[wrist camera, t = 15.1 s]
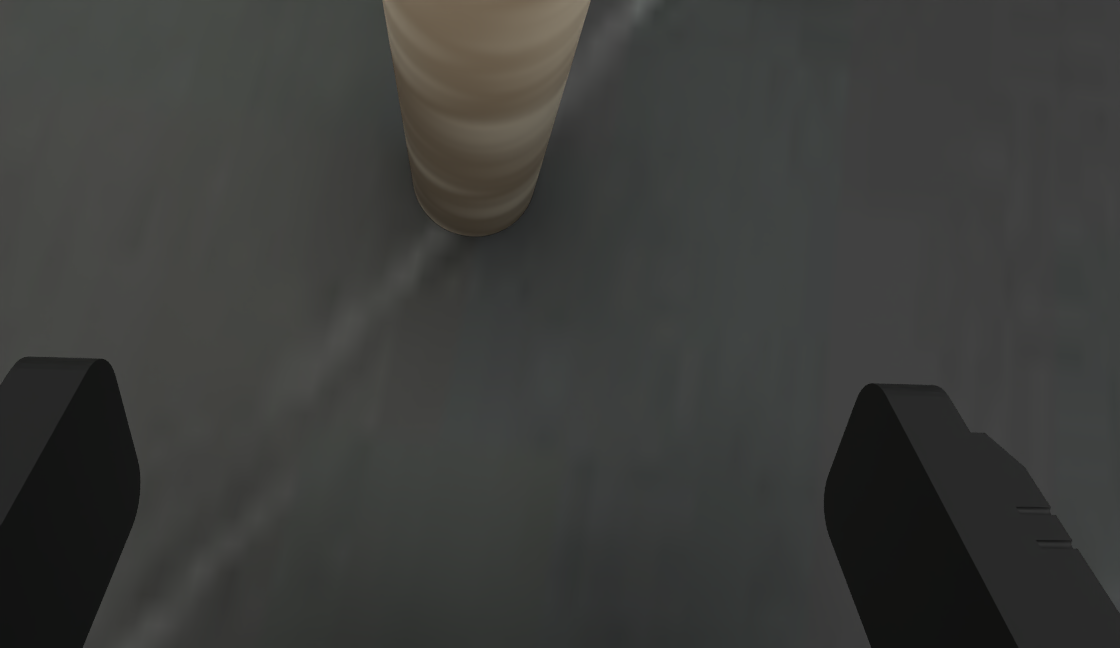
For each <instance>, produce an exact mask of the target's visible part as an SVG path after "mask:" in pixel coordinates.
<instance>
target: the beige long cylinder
mask: <svg viewBox="0 0 1120 648" xmlns="http://www.w3.org/2000/svg"><path fill="white" fill-rule="evenodd" d="M590 1H591V0H383V6H384V12H385V18H386V24H387V30H388V36H389V42H390V48H391V54H392V60H393V66H394V72H395V78H396V84H397V90H398V96H399V102H400V108H401V114H402V120H403V126H404V132H405V138H406V144H407V150H408V156H409V162H410V168H411V174H412V180H413V186H414V191H415V194H416V197H417V200H418V202H419V204H420V205H421V207H422V209H423V210H424V211H425V213H426V214H427V215H428V216H429V217H430V218H431V219H432V220H433V221H434V222H435V223H436V224H438V225H439V226H441V227H442V228H444V229H446V230H448V231H450V232H453V233H456V234H459V235H463V236H472V237H478V236H487V235H491V234H495V233H498V232H500V231H502V230H504V229H506V228H507V227H509V226H511V225H512V224H513V223H514V222H516V221H517V220H518V219H519V218H520V217H521V215H522V214H523V213H524V212H525V210H526V209H527V207H528V205H529V203H530V201H531V198H532V195H533V192H534V189H535V186H536V182H537V179H538V175H539V172H540V169H541V165H542V162H543V159H544V155H545V152H546V149H547V145H548V142H549V138H550V135H551V132H552V128H553V125H554V122H555V118H556V115H557V112H558V108H559V105H560V101H561V98H562V95H563V91H564V88H565V85H566V81H567V78H568V75H569V71H570V68H571V64H572V61H573V58H574V54H575V51H576V48H577V44H578V41H579V38H580V34H581V31H582V27H583V24H584V21H585V17H586V14H587V11H588V7H589V4H590Z"/></svg>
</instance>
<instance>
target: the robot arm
mask: <svg viewBox="0 0 1120 648" xmlns="http://www.w3.org/2000/svg"><path fill="white" fill-rule="evenodd" d="M139 496H140V470H139V464H138V459H137V455H136V452H135V448H134V444H133V440H132V437H131V433H130V429H129V425H128V421H127V418H126V414H125V410H124V406H123V402H122V399H121V395H120V391H119V387H118V384H117V380H116V376H115V373H114V370H113V368H112V366H111V365H110V364H109V362H108V361H106V360H104V359H92V358H57V357H24V358H22V359H20V360H19V361H18V362H16V363H15V365H14V366H13V367H12V368H11V370H10V371H9V373H8V374H7V376H6V377H5V379H4V380H3V382H2V383H1V385H0V648H83V645H84V643H85V640H86V638H87V636H88V633H89V631H90V628H91V626H92V623H93V621H94V619H95V616H96V614H97V611H98V609H99V606H100V604H101V601H102V599H103V597H104V594H105V592H106V589H107V587H108V584H109V582H110V579H111V577H112V575H113V572H114V570H115V567H116V565H117V562H118V560H119V558H120V555H121V553H122V550H123V548H124V545H125V543H126V540H127V538H128V536H129V533H130V531H131V528H132V526H133V523H134V520H135V517H136V513H137V508H138V503H139ZM1050 508H1051V507H1050V505H1049V504H1048V502H1047V501H1046V499H1045V498H1044V496H1043V495H1042V493H1041V492H1040V490H1039V488H1038V487H1037V485H1036V484H1035V482H1034V481H1033V479H1032V478H1031V476H1030V475H1029V473H1028V471H1027V470H1026V468H1025V467H1024V466H1023V465H1021V464H1020V463H1019V462H1018V461H1017V460H1016V459H1015V458H1013V457H1012V456H1011V455H1010V454H1009V453H1008V452H1006V451H1005V450H1004V449H1003V448H1002V447H1001V446H999V445H998V444H997V443H996V442H995V441H994V440H993V439H991V438H990V437H989V436H988V435H987V434H986V433H971V432H970V431H969V429H968V427H967V426H966V424H965V423H964V421H963V419H962V418H961V416H960V414H959V413H958V411H957V409H956V408H955V406H954V404H953V403H952V401H951V399H950V398H949V396H948V395H947V394H946V392H945V391H944V390H943V389H942V388H940V387H938V386H935V385H908V384H874V383H872V384H868V385H866V386H865V387H864V388H863V389H862V390H861V392H860V393H859V395H858V397H857V400H856V402H855V405H854V408H853V410H852V413H851V416H850V418H849V421H848V424H847V427H846V429H845V432H844V435H843V437H842V440H841V443H840V445H839V448H838V451H837V453H836V456H835V459H834V461H833V464H832V467H831V469H830V472H829V475H828V478H827V481H826V486H825V493H824V513H825V521H826V526H827V530H828V534H829V537H830V539H831V542H832V545H833V547H834V550H835V553H836V555H837V558H838V561H839V563H840V566H841V568H842V571H843V574H844V576H845V579H846V582H847V584H848V587H849V590H850V592H851V595H852V598H853V600H854V603H855V605H856V608H857V611H858V613H859V616H860V619H861V621H862V624H863V627H864V629H865V632H866V635H867V637H868V640H869V642H870V645H871V648H1120V613H1119V612H1118V610H1117V609H1116V607H1115V606H1114V604H1113V603H1112V601H1111V600H1110V598H1109V596H1108V595H1107V593H1106V592H1105V590H1104V589H1103V587H1102V586H1101V584H1100V583H1099V581H1098V579H1097V578H1096V576H1095V575H1094V573H1093V572H1092V570H1091V569H1090V567H1089V566H1088V564H1087V562H1086V561H1085V559H1084V558H1083V556H1082V555H1081V553H1080V552H1079V550H1078V549H1073V548H1072V545H1071V542H1072V539H1071V538H1070V536H1069V535H1068V533H1067V532H1066V530H1065V529H1064V527H1063V525H1062V524H1061V522H1060V521H1059V519H1058V518H1057V516H1056V515H1051V513H1050Z"/></svg>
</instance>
